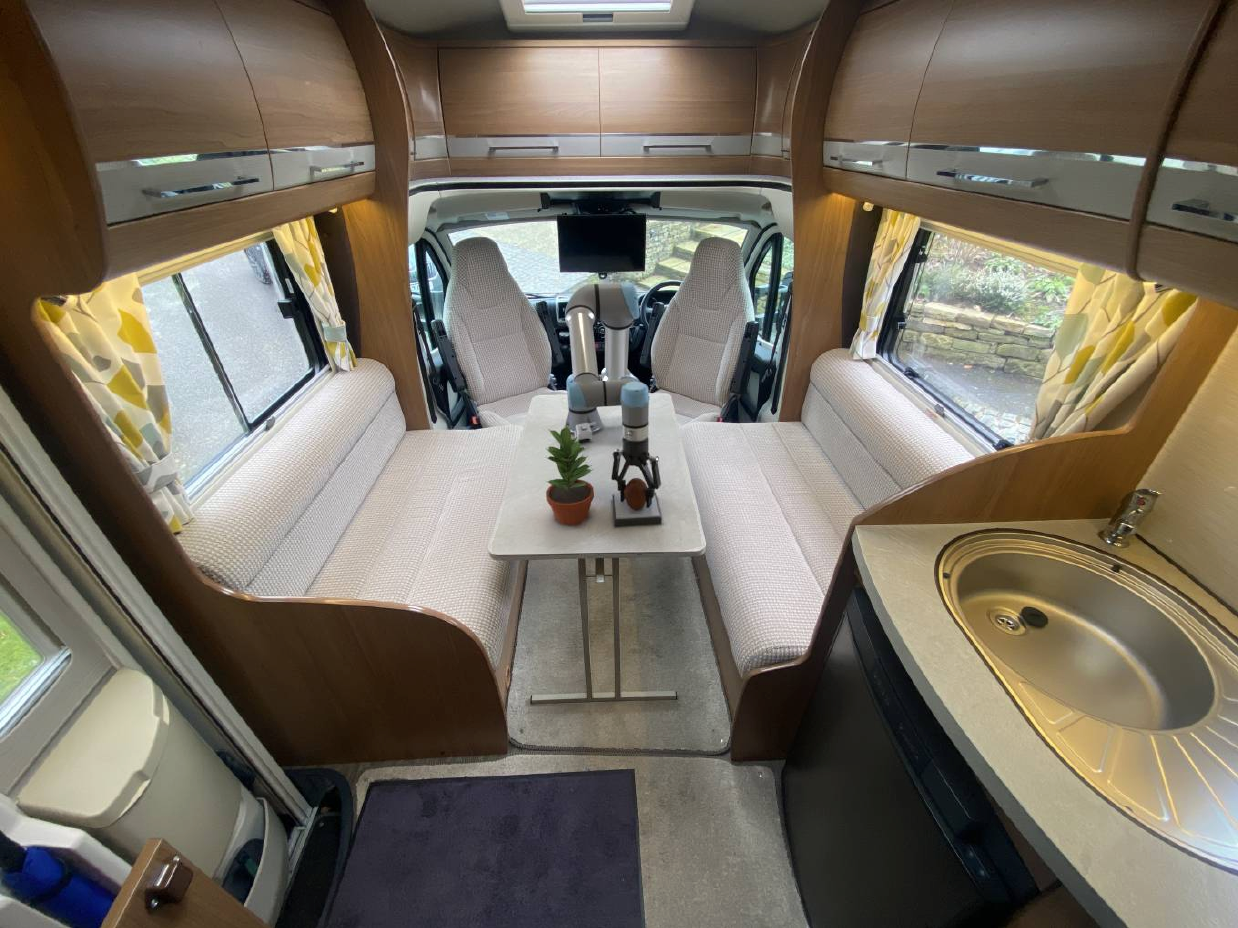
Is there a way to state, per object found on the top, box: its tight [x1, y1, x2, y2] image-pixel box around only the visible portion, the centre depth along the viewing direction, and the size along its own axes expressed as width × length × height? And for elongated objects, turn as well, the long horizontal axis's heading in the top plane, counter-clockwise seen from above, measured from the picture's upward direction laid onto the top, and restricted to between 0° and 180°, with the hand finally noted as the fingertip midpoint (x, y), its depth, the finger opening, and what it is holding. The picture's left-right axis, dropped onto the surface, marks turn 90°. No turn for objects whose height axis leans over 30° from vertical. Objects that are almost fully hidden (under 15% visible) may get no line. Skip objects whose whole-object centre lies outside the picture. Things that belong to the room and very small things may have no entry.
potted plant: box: [545, 424, 595, 526], centre depth 147 cm, size 15×15×30 cm
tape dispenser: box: [574, 423, 593, 445], centre depth 195 cm, size 6×7×10 cm
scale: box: [612, 491, 662, 528], centre depth 155 cm, size 14×14×3 cm
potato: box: [624, 477, 648, 511], centre depth 152 cm, size 8×12×8 cm, turn 179°
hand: (636, 502), depth 153 cm, fingers closed on potato, 8 cm apart
